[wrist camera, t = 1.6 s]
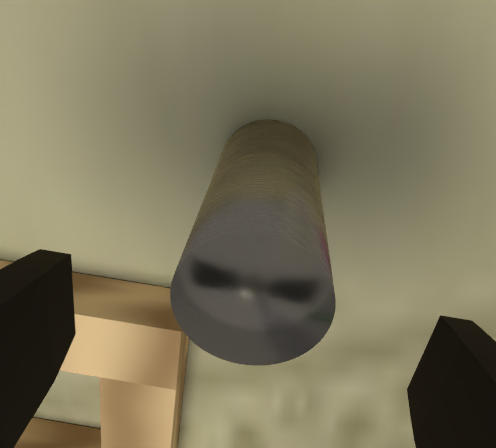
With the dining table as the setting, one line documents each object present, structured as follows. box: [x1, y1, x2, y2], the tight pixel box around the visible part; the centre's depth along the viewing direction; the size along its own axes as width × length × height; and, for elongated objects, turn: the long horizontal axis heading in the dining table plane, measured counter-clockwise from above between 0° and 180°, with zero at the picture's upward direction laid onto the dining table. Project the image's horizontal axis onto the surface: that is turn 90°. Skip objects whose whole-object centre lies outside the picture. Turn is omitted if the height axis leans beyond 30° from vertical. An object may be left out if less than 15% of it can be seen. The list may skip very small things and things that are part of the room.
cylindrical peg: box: [170, 120, 335, 365], centre depth 13 cm, size 4×4×8 cm
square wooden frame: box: [0, 260, 189, 448], centre depth 22 cm, size 14×14×2 cm
